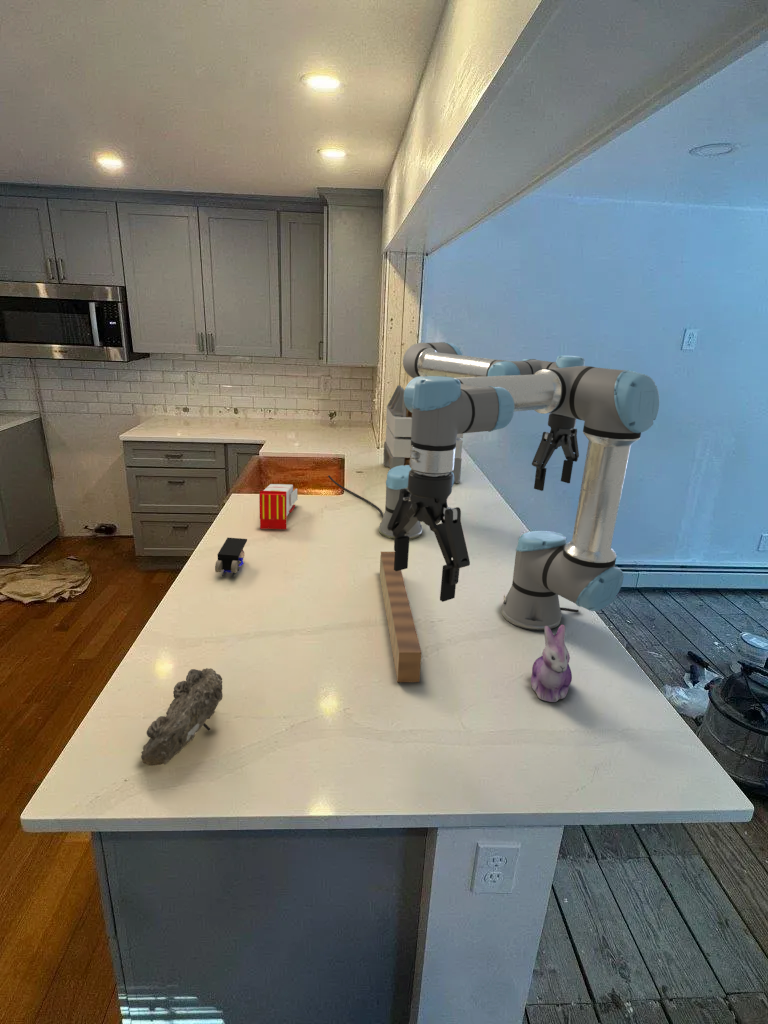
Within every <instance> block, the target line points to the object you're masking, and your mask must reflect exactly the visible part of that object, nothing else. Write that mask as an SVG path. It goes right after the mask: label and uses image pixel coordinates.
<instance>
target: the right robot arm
mask: <svg viewBox="0 0 768 1024" xmlns="http://www.w3.org/2000/svg"><path fill="white" fill-rule="evenodd" d="M404 390H405V391H404V403H405V406H406V408H407V409H408V410H409V411H410V412H411V413H412V428H411V450H410V465H409V466H410V468H411V470H410V471H409V478H408V488H403V489H400V494H399V500H398V502H397V505H396V507H395V509H394V512H393V514H392V516H391V519H390V521H389V523H388V526H387V528H388V530H389V531H390V530H391V531H392V532H393V536H394V537H395V539H393V541H394V542H393V552H395V558H394V570H395V571H400V570H401V571H403V570H406V569H408V567H409V553H410V552H409V550H410V540H409V536H404V535H406V534H409V533H408V532H409V531H410V529H411V528H412V527H413V526H414V525H415V524H416V523H417V521H420V522H422V523H424V524H425V525H426V526H428V527H429V529H430V531H431V532H433V534H434V536H435V539H436V541H437V544H438V547H439V549H440V552H441V553H442V554H441V555H442V557H443V559H444V562H445V564H444V565H442V571H441V582H440V583H441V584H440V592H439V593H440V594H439V601H440V602H442V603H444V602H446V601H450V600H453V599H455V598H456V588H457V584H458V583H459V578H460V569H462V568H465V567H468V566H470V565H471V561H470V556H469V553H468V547H467V544H466V539H465V535H464V530H463V526H462V521H461V519H462V516H461V515H462V510H461V508H460V507H459V506H457V507H450V506H449V504H448V498H450V497H449V496H450V495H451V494H452V492H453V487H452V482H453V474H452V473H451V472H452V471H453V470H454V461H455V447H456V439H457V434H463V435H464V434H473V433H481V432H489V433H490V432H493V431H496V430H501V429H504V428H506V427H507V426H508V425H510V424H511V422H512V420H513V418H514V413H515V412H526V411H534V412H535V413H538V414H543V415H545V414H550V413H553V414H558V415H563V416H567V417H571V418H575V419H576V420H579V421H583V428H582V434H583V435H584V436H585V437H586V438H587V440H588V443H587V449H586V454H585V461H584V466H583V473H582V479H581V484H580V491H579V498H578V502H577V508H576V514H575V519H574V526H573V532H572V538H571V540H570V541H568V540H567V536H565V534H562V533H560V532H555V531H549V530H534V531H527V532H525V533H523V534H521V535H520V536H519V538H518V540H517V544H516V546H517V547H516V548H515V557H514V566H513V575H512V582H511V587H510V588H509V590H508V592H507V594H506V595H505V594H503V602H502V605H501V615H502V617H503V618H504V619H505V620H506V621H507V622H509V624H512V625H514V626H516V627H518V628H521V629H525V630H529V631H538V632H539V631H541V632H542V631H544V627H545V626H548V627H549V628H550V629H551V630H553V629H555V628H557V627H559V626H560V625H561V622H562V611H563V612H570V613H580V611H579V609H574V608H569V607H561V604H560V599H559V596H560V597H561V598H563V599H565V600H567V601H569V602H571V603H573V604H575V605H576V606H577V607H580V608H583V609H586V610H588V611H589V612H598V611H601V610H603V609H605V608H606V607H608V606H609V605H610V604H611V603H612V602H613V600H615V598H616V597H617V595H618V594H619V592H620V590H621V588H622V586H623V583H624V576H625V575H624V573H623V570H622V569H621V568H620V567H618V566H616V561H617V553H616V551H615V550H614V548H613V547H612V545H613V539H614V534H615V529H616V524H617V519H618V514H619V508H620V504H621V500H622V499H621V498H622V493H623V488H624V483H625V479H626V472H627V467H628V462H629V459H630V458H629V457H630V452H631V447H632V445H633V444H635V443H636V442H637V441H639V440H640V439H641V437H642V436H641V435H642V433H645V432H647V431H648V430H649V429H651V428H652V426H653V425H654V421H655V420H657V417H658V414H659V410H660V393H659V389H658V386H657V385H656V382H655V380H654V379H653V378H652V377H650V376H649V375H648V374H645V373H642V372H641V373H640V372H636V371H633V370H629V369H628V370H625V369H617V368H616V369H614V368H606V367H605V368H604V367H595V366H589V365H585V366H575V367H565V368H556V369H543V370H539V371H537V372H536V373H534V374H533V375H511V376H486V377H462V378H451V377H441V376H425V377H422V376H419V377H415V378H412V379H411V380H410V381H409V382H408V383H407V385H406V386H405V388H404ZM411 504H412V507H411ZM410 507H411V508H410Z"/></svg>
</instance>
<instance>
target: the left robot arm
mask: <svg viewBox="0 0 768 1024" xmlns="http://www.w3.org/2000/svg"><path fill="white" fill-rule="evenodd" d="M402 366H403V369H404V372H405V373H406V374H407V375H408V376H409V377H411V378H412V379H414V378H415V377H419V376H422V377H425V376H441V377H451V378H462V377H486V376H511V375H533V374H534V373H536V372H537V371H539V370H543V369H556V368H565V367H575V366H586V360H585V358H584V357H582V356H578V355H566V354H565V355H564V354H563V355H558V356H557V357H556V360H555V361H549V360H541V359H536V358H524V359H521V360H506V359H505V360H504V359H503V360H502V359H496V358H487V357H479V356H471V355H464V354H463V352H462V350H461V349H460V347H459V346H457V345H456V344H455V343H451V342H445V341H443V342H442V341H441V342H440V341H439V342H438V341H437V342H417V343H414V344H412V345H411V346H409V347H408V348H407V350H406V351H405V353H404V355H403V358H402ZM547 419H548V420H547V426H548V427H549V428H550V431H549V432H548V431H543V432H542V435H541V440H540V442H539V445H538V447H537V449H536V452H535V454H534V457H533V460H532V461H531V466H533V467H535V475H534V477H535V478H534V485H533V489H534V490H537V491H539V492H543V491H544V489H545V484H546V483H545V482H546V476H547V468H546V466H547V465H548V463H549V461H550V459H551V457H552V456H553V454H554V453H555V451H556V450H557V449H558V448H560V447H561V449H562V452H563V455H564V458H565V459H563V463H562V468H561V469H562V470H561V475H560V482H562V483H566V484H571V478H572V472H573V466H574V463H576V462H578V461H579V457H580V453H579V444H578V428H576V423H577V419H575V418H571V417H567V416H563V415H558V414H553V413H548V418H547ZM410 470H411V468H410V466H409V465H401V466H396V467H394V468H392V469H390V468H389V470H388V472H387V474H386V479H385V504H384V505H385V507H384V508H385V509H384V513H383V511H382V509H381V508H380V507H378V506H377V505H376V504H374V503H373V502H371V501H369V500H368V499H366V498H364V497H362V496H361V495H359V494H357V493H355V492H353V491H351V490H349V489H348V488H347V487H344V486H342V484H339V483H338V482H336V481H335V480H334V479H333V477H331V475H327V476H328V478H329V479H330V480H331V482H333V484H335V485H336V486H337V487H339V488H341V489H342V490H343V491H346V492H348V493H349V494H351V495H353V496H355V497H357V498H359V499H360V500H362V501H364V502H366V503H367V504H369V505H371V506H372V507H373V508H375V509H376V510H378V512H379V514H380V516H381V518H382V519H381V522H379V526H378V533H379V534H380V535H381V536H382V537H385V538H387V539H389V540H394V539H395V537H394V536H393V532H392V531H391V530H390V531H389V530H388V528H387V526H388V523H389V521H390V519H391V516H392V514H393V512H394V509H395V507H396V505H397V502H398V500H399V494H400V489H403V488H408V478H409V471H410ZM451 473H452V472H451ZM452 474H453V482H452V488H454V487H453V486H454V484H455V483H454V473H452ZM411 507H412V504H411ZM411 507H410V508H411ZM408 533H409V534H406V535H404V536H409V541H410V540H415V539H418V538H420V537H421V536H422V535H423V525H422V524H421V522H420V521H417V523H416V524H415V525H414V526H413V527H412V528H411V529H410V531H409V532H408Z"/></svg>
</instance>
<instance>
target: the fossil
mask: <svg viewBox="0 0 768 1024" xmlns="http://www.w3.org/2000/svg"><path fill="white" fill-rule="evenodd" d="M172 696H173V700H172V701H171V703H170V704H169V707H168V708H167V710H166V712H165V713H166V714H165V715H166V716H163V715H160V716H158V717H157V718H156V720H153V721H152V722H151V724H150V725H149V726H148V728H147V730H146V736H147V737H148V738H149V739H148V740H147V742H146V743H145V744H144V745H143V746H142V750H141V752H140V753H141V756H140V759H141V762H142V763H143V764H146V765H148V766H149V767H155V766H160V765H167V764H168V763H169V762H170V761H172V759H174V757H176V755H178V754H180V752H181V751H182V750H183V749H184V748H185V747H186V746H187V745H189V744H190V742H192V741H193V739H194V738H195V736H196V734H197V733H198V732H199V731H200V730H201V729H202V728H204V729H206V730H207V731H208V732H209V731H211V728H210V726H208V724H206V721H207V720H210V719H211V718H212V716H213V715H214V714H215V711H216V709H217V707H218V705H219V703H220V702H221V701H222V699H223V698H224V697H223V696H224V695H223V677H222V676H221V674H219V673H217V671H216V670H215V669H213V668H207V667H206V668H203V669H202V670H200V669H196V668H191V669H190V670H189V671H188V673H187V675H186V677H185V680H181V681H178V682H177V683H176V684H175V685H174V687H173V695H172Z"/></svg>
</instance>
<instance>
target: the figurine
mask: <svg viewBox="0 0 768 1024" xmlns="http://www.w3.org/2000/svg"><path fill="white" fill-rule="evenodd" d="M543 631H544V648H543V650H542V655H541V656H539V657H538V658H536V659H535V660H534V661H533V664H532V668H531V676H530V685H531V690H533V691H534V693H536V696H537V697H538V699H540V700H542V701H544V702H549V703H557V702H558V701H559V700H563V699H565V698H566V696H567V694H568V692H569V688H570V686H571V684H572V681H573V675H572V674H573V673H572V670H571V667H570V664H569V663H570V660H571V657H570V652H569V649H568V647H567V645H566V643H565V642H566V641H565V637H566V626H565V625H564V624H560V625H559V626H558V628H557V631H556V633H555V634H554V633H553V631H552V629H550V628H549V627H548V626H545V627H544V630H543Z"/></svg>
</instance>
